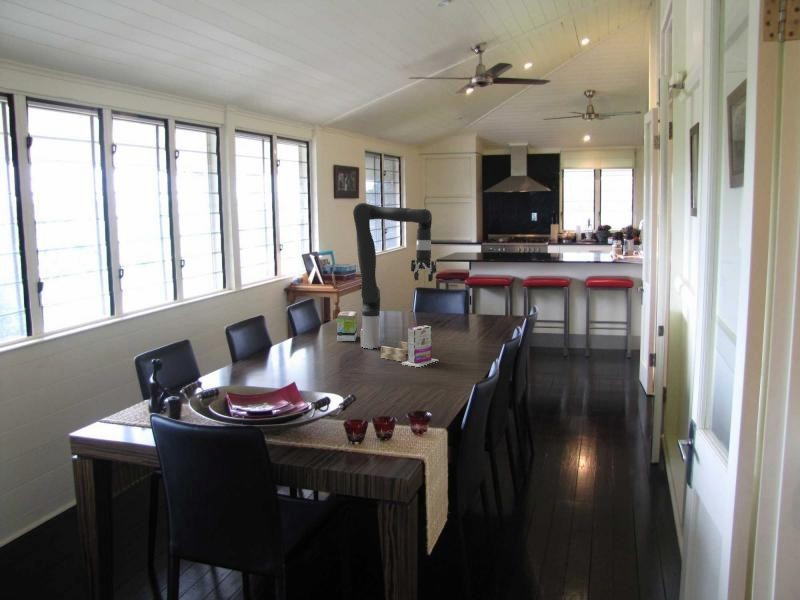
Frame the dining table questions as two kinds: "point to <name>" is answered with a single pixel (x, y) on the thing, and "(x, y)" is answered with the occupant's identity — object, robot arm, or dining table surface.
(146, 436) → the dining table surface
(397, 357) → the dispenser rack
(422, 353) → the candy bar box
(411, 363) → the white panel
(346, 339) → the tea box
